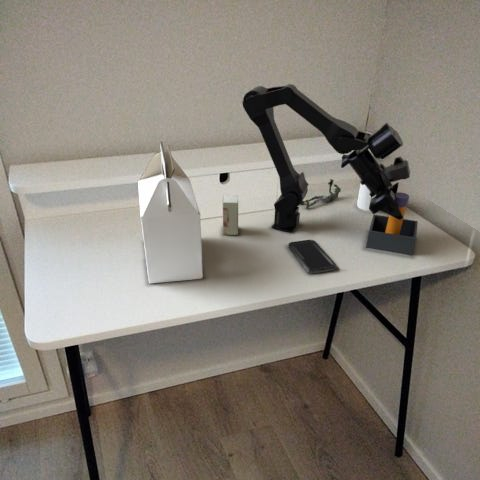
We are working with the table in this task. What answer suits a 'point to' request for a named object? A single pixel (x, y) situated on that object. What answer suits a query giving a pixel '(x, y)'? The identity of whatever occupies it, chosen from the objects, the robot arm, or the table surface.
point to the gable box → (169, 221)
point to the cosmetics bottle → (230, 214)
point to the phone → (311, 256)
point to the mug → (364, 198)
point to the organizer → (392, 236)
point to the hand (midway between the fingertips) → (402, 215)
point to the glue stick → (393, 222)
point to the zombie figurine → (324, 198)
